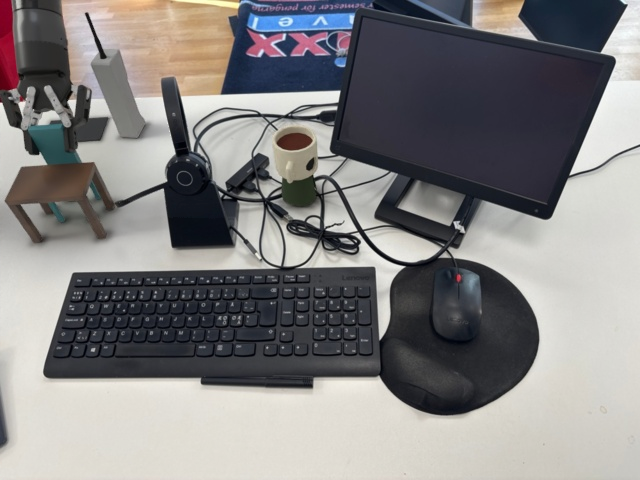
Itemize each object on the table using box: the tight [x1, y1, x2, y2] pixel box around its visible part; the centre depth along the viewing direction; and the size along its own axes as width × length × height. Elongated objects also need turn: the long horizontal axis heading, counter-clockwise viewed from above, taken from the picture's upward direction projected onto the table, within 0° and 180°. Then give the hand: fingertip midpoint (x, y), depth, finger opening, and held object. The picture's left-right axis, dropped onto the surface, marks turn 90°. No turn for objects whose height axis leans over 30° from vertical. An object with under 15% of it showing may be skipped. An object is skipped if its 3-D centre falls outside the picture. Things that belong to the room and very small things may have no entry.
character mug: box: [271, 124, 319, 207], centre depth 87 cm, size 11×7×13 cm, turn 170°
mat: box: [48, 116, 109, 143], centre depth 107 cm, size 12×8×1 cm, turn 93°
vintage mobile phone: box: [84, 11, 146, 139], centre depth 97 cm, size 4×5×25 cm
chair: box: [28, 124, 102, 223], centre depth 86 cm, size 6×6×16 cm
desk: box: [4, 161, 116, 244], centre depth 86 cm, size 12×8×10 cm, turn 93°
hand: (52, 153), depth 83 cm, fingers closed on chair, 5 cm apart
